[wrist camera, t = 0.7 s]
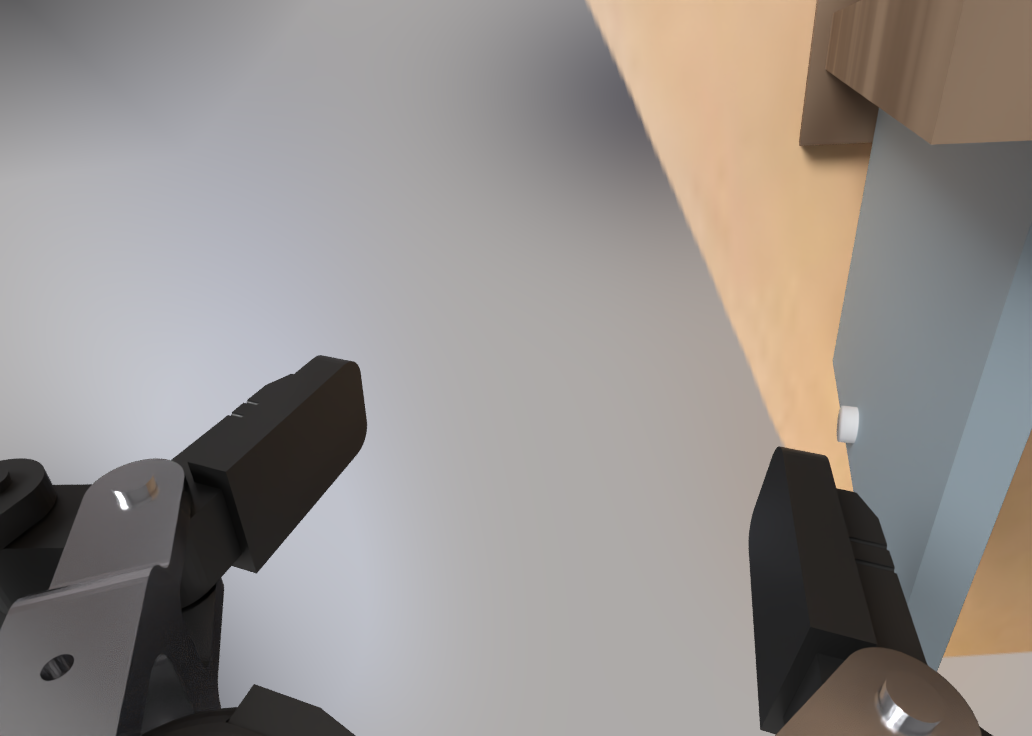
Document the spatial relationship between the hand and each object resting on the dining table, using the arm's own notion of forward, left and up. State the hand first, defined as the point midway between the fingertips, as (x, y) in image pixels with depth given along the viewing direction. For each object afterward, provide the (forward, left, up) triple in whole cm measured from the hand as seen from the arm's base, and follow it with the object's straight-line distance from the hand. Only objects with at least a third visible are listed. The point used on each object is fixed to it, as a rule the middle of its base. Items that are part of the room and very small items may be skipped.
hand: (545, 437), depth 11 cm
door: (-6, +5, -21) cm, 23 cm away
